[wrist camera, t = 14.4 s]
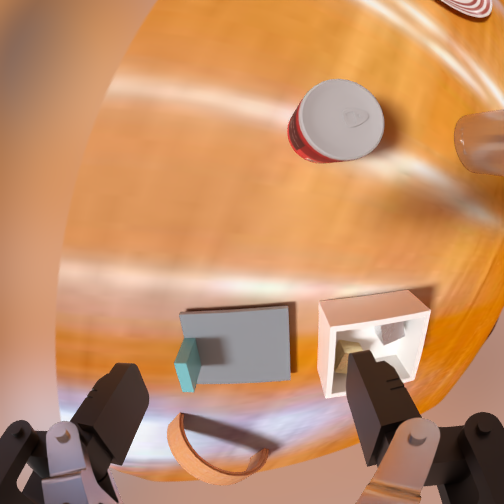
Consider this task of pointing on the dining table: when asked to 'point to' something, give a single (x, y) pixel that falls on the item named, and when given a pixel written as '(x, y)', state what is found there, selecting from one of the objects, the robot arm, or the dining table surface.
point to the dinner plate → (471, 7)
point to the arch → (198, 465)
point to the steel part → (390, 332)
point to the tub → (371, 333)
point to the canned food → (336, 123)
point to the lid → (234, 347)
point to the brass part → (344, 354)
